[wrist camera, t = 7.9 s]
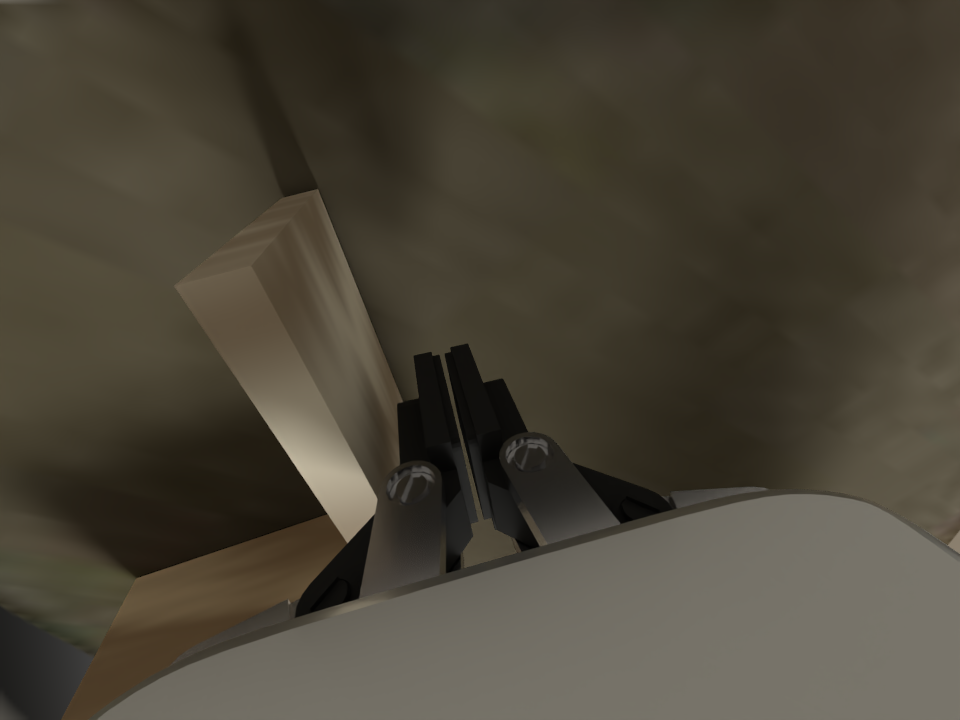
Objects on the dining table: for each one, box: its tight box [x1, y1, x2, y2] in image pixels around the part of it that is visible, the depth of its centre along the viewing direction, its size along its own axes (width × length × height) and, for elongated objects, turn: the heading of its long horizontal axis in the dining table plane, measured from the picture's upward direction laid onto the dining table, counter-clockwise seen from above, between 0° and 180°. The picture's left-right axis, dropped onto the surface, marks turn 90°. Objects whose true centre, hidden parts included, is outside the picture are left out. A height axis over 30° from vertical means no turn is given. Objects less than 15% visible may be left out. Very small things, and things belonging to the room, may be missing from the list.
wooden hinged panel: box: [61, 514, 347, 720], centre depth 17 cm, size 2×16×10 cm, turn 103°
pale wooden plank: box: [175, 189, 403, 543], centre depth 13 cm, size 14×1×8 cm, turn 11°
